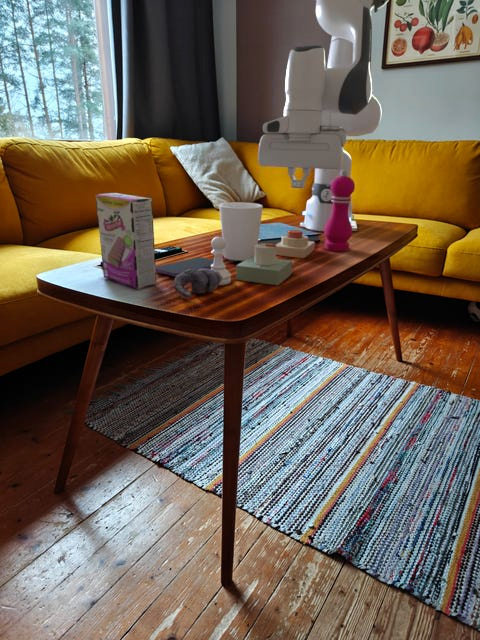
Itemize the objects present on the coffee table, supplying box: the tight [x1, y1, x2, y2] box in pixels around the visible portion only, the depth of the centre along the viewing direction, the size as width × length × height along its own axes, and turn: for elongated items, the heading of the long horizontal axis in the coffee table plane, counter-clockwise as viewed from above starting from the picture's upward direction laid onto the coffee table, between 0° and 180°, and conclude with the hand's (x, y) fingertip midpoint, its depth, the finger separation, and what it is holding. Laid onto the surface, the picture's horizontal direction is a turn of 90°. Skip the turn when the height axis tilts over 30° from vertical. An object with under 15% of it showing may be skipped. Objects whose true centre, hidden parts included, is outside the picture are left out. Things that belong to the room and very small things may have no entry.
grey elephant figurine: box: [173, 268, 222, 299], centre depth 82 cm, size 5×5×10 cm
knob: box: [254, 243, 277, 265], centre depth 91 cm, size 4×4×4 cm
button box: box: [275, 233, 316, 259], centre depth 114 cm, size 10×8×4 cm
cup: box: [218, 201, 264, 264], centre depth 103 cm, size 10×10×13 cm
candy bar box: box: [95, 192, 157, 290], centre depth 85 cm, size 11×5×16 cm, turn 50°
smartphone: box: [156, 256, 214, 277], centre depth 98 cm, size 7×1×15 cm
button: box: [287, 229, 304, 238], centre depth 113 cm, size 4×4×2 cm
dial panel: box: [235, 256, 293, 286], centre depth 93 cm, size 9×9×3 cm
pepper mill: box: [323, 170, 356, 252], centre depth 115 cm, size 7×7×20 cm
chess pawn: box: [210, 236, 232, 286], centre depth 88 cm, size 5×5×9 cm
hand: (297, 187), depth 109 cm, fingers closed
